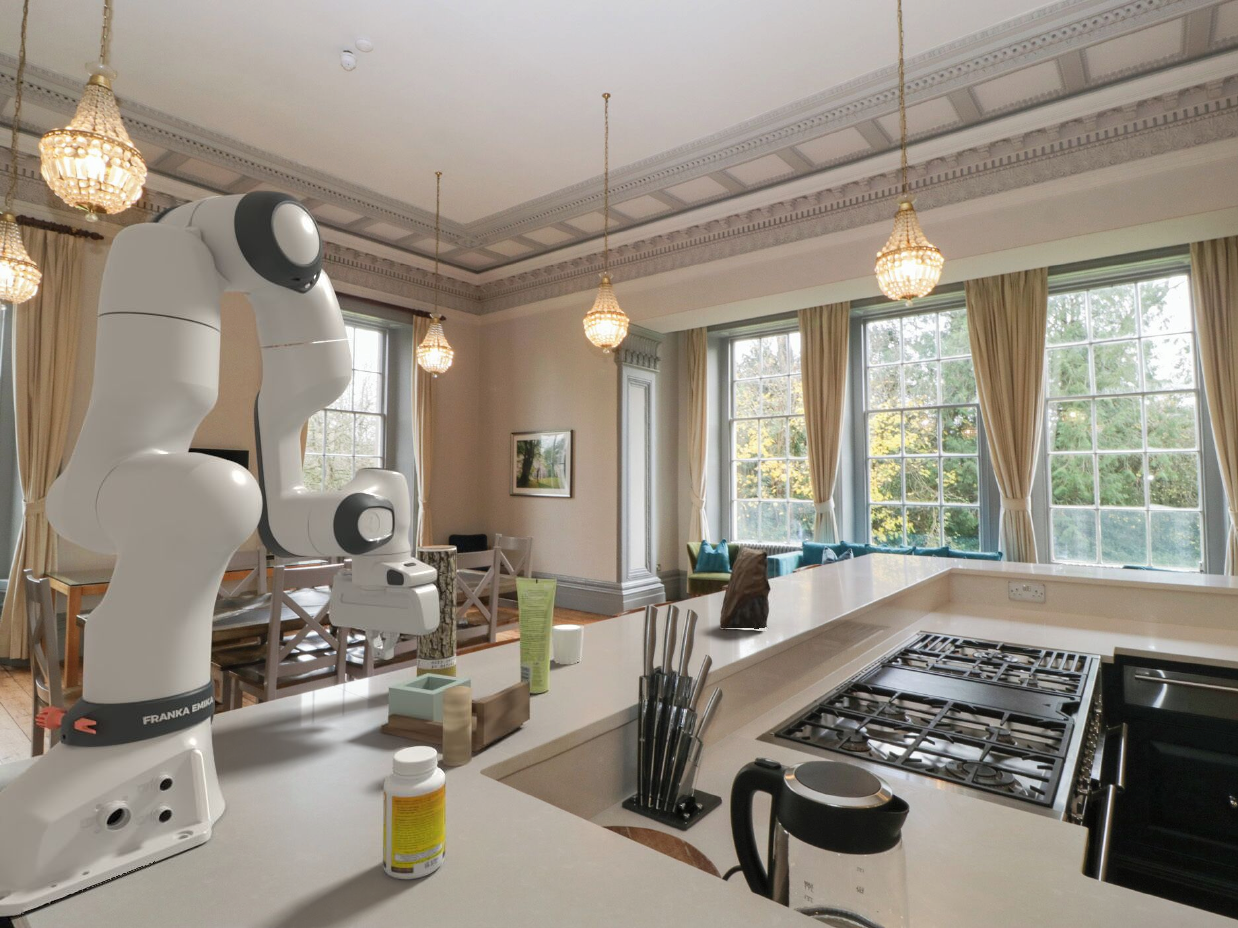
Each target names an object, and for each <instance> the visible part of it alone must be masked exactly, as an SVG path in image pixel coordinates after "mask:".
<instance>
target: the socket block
mask: <svg viewBox="0 0 1238 928" xmlns="http://www.w3.org/2000/svg"><path fill="white" fill-rule="evenodd" d="M471 682H472V680H471V678H465V677H460V676H458V677H457V676H456V677H452V676H445V675H438V674H431V673H427V674H424V675H421V676H419V677H417V676H416V677H414V678H411V679H408V680H405V681H402V682H400V683H397V684H394V685H391V686H389V687H388V716H389V715H392V714H396V715H402V716H408V717H413V718H419V719H424V720H430V721H435V722H441V723H443V690H444V689H446V688H450V687H455V686H466V687H470V688H471V689H472V687H471V686H472V685H471V684H472V683H471ZM388 716H387V717H388Z"/></svg>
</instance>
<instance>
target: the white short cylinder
mask: <svg viewBox="0 0 1238 928" xmlns="http://www.w3.org/2000/svg"><path fill="white" fill-rule="evenodd" d="M584 633H585V626H584V625H582V624H575V623H564V624H556V625H552V633H551V644H552V651H553V652H552V653H553V662H554V661H555V662H556V663H555V662H554V663H555V664H557V663H563V664H562V665H564V663H565V664H567V665H572V664H571V663H576V664H578V663H577V662H579V661H581V662H582V658H583V645H584V635H585V634H584Z"/></svg>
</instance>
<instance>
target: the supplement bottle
mask: <svg viewBox="0 0 1238 928" xmlns="http://www.w3.org/2000/svg"><path fill="white" fill-rule="evenodd" d="M382 795H383V804H382V805H383V811H382V812H383V815H382V817H383V819H382V820H383V821H382V822H383V823H382V825H383V826H382V828H383V829H382V830H383V831H382V864H383V869H384V871H385V873H386V874H387V875H389V877H390V876H391V877H392V878H394V879H399V880H414V879H419V878H422V877H425V876H428V875H430V874H431V873H432V874H433V872H435V871H436V870H437V869H439V868H440V866H441V865H443V862H444V860H445V857H446V774H445V772H444V771H443V770H442V769H441V768H440V767H438V752H437V750H436V749H435V748H434V747H432V746H425V745H417V746H416V745H415V746H410V747H406V748H403V749H401V750H398V751H397V752H395V753H394V755H393V757H392V772H391V773H390V774H389V775H388V776H387V777H386V778H385V780H384V782H383V794H382Z"/></svg>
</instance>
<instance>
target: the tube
mask: <svg viewBox="0 0 1238 928" xmlns="http://www.w3.org/2000/svg"><path fill="white" fill-rule="evenodd" d="M557 580H558V579H557V578H552V579H550V578H530V577H529V578H526V577H525V578H524V577H516V578H515V583H516V592H517V593H516V594H517V603H518V604H517V605H518V606H517V607H518V621H519V622H518V624H519V652H520V656H519V657H520V662H519V663H520V664H519V665H520V672H519V673H520V675H519V676H520V682H521V681H529V682H530V694H542V693H545V692H547V690H549V689H550V667H551V648H552V647H551V646H552V645H551V644H552V626H553V618H554V605H555V595H556V589H557V583H558V582H557Z"/></svg>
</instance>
